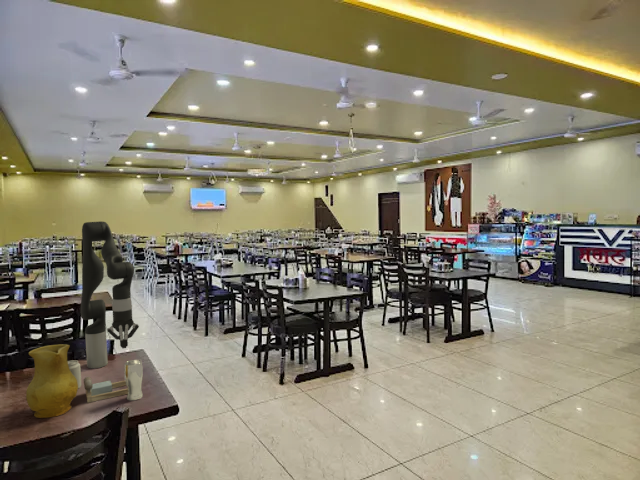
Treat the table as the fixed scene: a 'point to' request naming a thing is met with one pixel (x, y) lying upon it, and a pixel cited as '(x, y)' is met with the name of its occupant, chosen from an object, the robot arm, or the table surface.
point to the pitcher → (51, 382)
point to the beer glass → (133, 379)
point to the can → (75, 370)
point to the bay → (106, 395)
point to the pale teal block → (101, 388)
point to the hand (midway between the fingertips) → (124, 347)
